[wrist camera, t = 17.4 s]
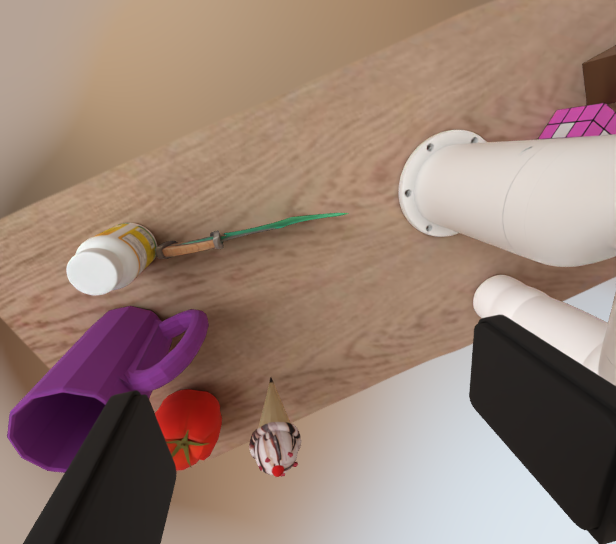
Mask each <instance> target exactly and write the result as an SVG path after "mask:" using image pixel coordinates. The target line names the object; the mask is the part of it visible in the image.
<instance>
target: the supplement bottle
mask: <svg viewBox="0 0 616 544" xmlns="http://www.w3.org/2000/svg"><path fill="white" fill-rule="evenodd" d="M155 248H157V242H156V240H155V237H154V236H153V234H152V233H151V232H150V231H149V230H148V229H147V228H145V227H143V226H141V225H139V224H136V223H122V224H119V225H117V226H114V227H112V228H110V229H108V230H106V231H104V232H102V233H100V234H98V235H96V236H94V237H91V238H89V239H88V240H86V241H85V242H83V243H82V244H81V245H80V246H79V248H78V250H77V252H76V254H75V256H73V257H72V258H71V259H70V261H69V262H68V265H67V276H68V279H69V281H70V282H71V284H72V285H73V286H74V287H75V288H77V289H78V290H79V291H81V292H83V293H86V294H89V295H102V294H106V293H108V292H110V291H111V290H117V289H121V288H123V287H125V286H127V285H129V284H130V283H131V282H132V281H133V280H134V279H135V278H136V277H137V276H138V275H139V274H140V273H141V272H142V271H143V270H144V269H145V268H146V267H147V266H148V265H149V264H150V263H151V262H152V261H153V260H154V259H155V257H156V253H155Z"/></svg>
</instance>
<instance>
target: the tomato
mask: <svg viewBox="0 0 616 544" xmlns="http://www.w3.org/2000/svg"><path fill="white" fill-rule="evenodd" d="M155 416H156V418H157V421H158V423H159V426H160V428H161V431H162V433H163V435H164V438H165V440H166V443H167V445H168V448H169V450H170V453H171V455H172V458H173V460H174V463H175V466H176V470H184V469H186V468H188V467H191V466H192V465H194V464H196V463H197V462H198V461H199V459H200V460H205V459H206V458H207V457H209V456H210V454H211V452H212V450H213V448H214V446H215V444H216V442H217V440H218V438H219V433H220V429H221V425H222V416H221V413H220V405H219V402H218V400H217V399H216V398H215V396H213V395H212V394H210V393H209V392H205V391H196V390H191V389H185V390H180V391H176V392H174V393H173V394H171V395H169V396H168V397H167V398H166V399H165V400H164V401H163V402H162V404H161V406H160V407H159V409H158V410H157V412H156V413H155Z"/></svg>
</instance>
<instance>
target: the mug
mask: <svg viewBox="0 0 616 544" xmlns="http://www.w3.org/2000/svg"><path fill="white" fill-rule="evenodd" d="M208 326H209V324H208V318H207V316H206V314H205V313H204V312H203V311H200V310H194V309H190V310H187V311H184V312H181V313H179V314H176V315H174V316H172V317H170V318H168V319H166V320H164V321H161V320H160V319H159V317H158V316H157V315H156V314H155V313H153V312H152V311H149V310H145V309H141V308H137V307H133V306H128V307H123V308H118V309H114V310H110V311H108V312H107V313H106V314H105V315H104V316H102V317H101V318H100V319H99V320H98V321H97V322H96V323H95V324H93V325H92V326H91V327H90V328H89V329H88V330H87V332H86V333H85V334H84V335H83V336H82V337H81V338H80V339H79V340H78V341H77V342H76V343H75V344H74V345H73V346H72V347H71V348H70V349H69V350H68V352H67V353H66V354H65V355H64V356H63V357H62V358H61V359H60V360H59V361H58V362H57V363H56V364H55V365H54V366H53V367H52V368H51V369H50V370H49V371H48V373H47V374H46V375H45V376H44V377H43V378H42V379H41V380H40V381H39V382H38V383H37V384H36V385H35V386H34V387H33V388H32V389H31V390H30V391H29V393H28V394H27V395H26V396H25V397H24V398H23V399H22V400H21V401H20V402H19V403H18V404H17V405H16V406H15V407H14V408H13V409H12V410H11V412H10V416H9V425H8V434H7V437H8V439H9V440H10V442H11V443H12V445H13V446H14V448H15V449H16V451H17V452H18V453H19V455H20V456H21V458H23V459H25V460H27V461H29V462H31V463H33V464H35V465H37V466H39V467H41V468H43V469H45V470H47V471H54V472H63V473H65V472H66V470H67V469H68V467H69V465H70V464H71V462H72V460H73V459H74V457H75V455H76V454H77V452H78V450H79V449H80V447H81V445H82V444H83V442H84V440H85V439H86V437H87V435H88V434H89V432H90V430H91V429H92V427H93V425H94V423H95V422H96V420H97V418H98V417H99V415H100V413H101V412H102V410H103V408H104V407H105V405H106V403H107V402H108V400H109V399H110V397H111V396H113V395H116V394H121V393H125V392H130V391H135V390H136V391H139V392H140V394H141V395H143V394H145V395H147V396H148V398H150V395H151V393H152V391H153V390H155V389H158V388H160V387H162V386H164V385H165V384H167V383H169V382H170V381H172V380H173V379H174V378H176V377H177V376H178V375H179V374H180V373H181V372H182V371H183V370H184V369H185V368H186V367H187V366H188V365H189V364H190V363H191V361H192V360H193V359H194V357H195V356H196V354H197V353H198V351H199V349H200V347H201V345H202V343H203V341H204V339H205V337H206V333H207V329H208ZM186 330H187V331H186ZM184 331H186V332H185V334H184V336H183V338H182V339H181V340H180V342H179V343H178V344H177V346H176V347H175V348H174V349H173V350H172V351H171V352H170V353H168V352H169V349H170V346H171V342H172V338H173V337H176V336H178V335H180V334H181V333H183V332H184Z"/></svg>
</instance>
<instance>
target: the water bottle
mask: <svg viewBox="0 0 616 544" xmlns="http://www.w3.org/2000/svg"><path fill="white" fill-rule="evenodd" d="M473 306H474V310H475V311H476V313H477V314H478V315H479V316H480V317H481V318H485V317H490V316H495V315H504V316H506V317H508V318H509V319H511V320H513V321H514V322H516V323H517V324H519V325H520V326H522V327H524V328H525V329H527V330H528V331H530V332H531V333H533V334H535V335H536V336H538V337H539V338H541V339H542V340H544V341H546V342H547V343H549V344H550V345H552V346H553V347H555V348H557V349H558V350H560V351H561V352H563V353H564V354H566V355H568V356H569V357H571V358H572V359H574V360H575V361H577V362H579V363H580V364H582V365H583V366H585V367H586V368H588V369H590V370H591V371H593V372H594V373H596V374H597V375H598V366H599V359H600V353H601V348H602V344H603V341H604V337H605V333H606V329H607V325H608V323H607V322H605V321H603V320H601V319H599V318H597V317H595V316H593V315H591V314H589V313H586V312H584V311H582V310H580V309H578V308H576V307H573V306H571V305H569V304H566V303H564V302H562V301H559V300H556V299H554V298H551V297H549V296H548V295H547V294H545V293H544V292H542V291H540V290H538V289H535V288H533V287H530V286H527V285H525V284H524V283H522V282H520V281H519V280H517V279H515V278H512V277H510V276H507V275H496V276H493V277H490V278H488V279H487V280H485V281H484V282H483V283H482V284H481V285H480V286H479V287H478V289H477V290H476V292H475V295H474V298H473Z"/></svg>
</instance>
